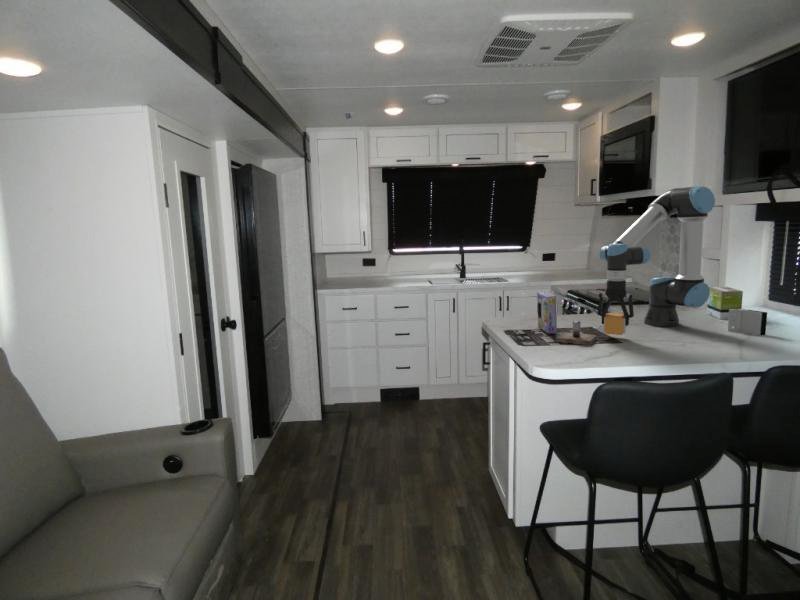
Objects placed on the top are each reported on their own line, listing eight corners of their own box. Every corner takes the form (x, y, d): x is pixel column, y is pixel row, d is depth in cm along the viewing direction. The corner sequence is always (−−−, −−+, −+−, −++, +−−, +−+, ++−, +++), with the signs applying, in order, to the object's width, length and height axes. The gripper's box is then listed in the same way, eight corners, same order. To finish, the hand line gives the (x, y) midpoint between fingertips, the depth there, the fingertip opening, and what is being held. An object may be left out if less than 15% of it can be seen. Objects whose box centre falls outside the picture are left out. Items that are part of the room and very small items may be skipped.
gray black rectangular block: (726, 331, 223) (728, 309, 222) (731, 329, 226) (733, 307, 225) (763, 336, 212) (765, 313, 211) (767, 334, 215) (769, 311, 214)
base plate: (596, 339, 213) (596, 335, 213) (589, 345, 204) (589, 341, 203) (563, 336, 221) (563, 332, 221) (555, 342, 211) (555, 337, 211)
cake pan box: (536, 325, 245) (536, 290, 242) (546, 325, 245) (546, 290, 242) (546, 334, 226) (546, 296, 223) (557, 334, 226) (558, 296, 223)
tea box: (705, 314, 262) (707, 286, 260) (726, 314, 261) (728, 286, 258) (719, 319, 247) (722, 290, 245) (741, 319, 246) (744, 290, 244)
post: (580, 336, 212) (581, 321, 211) (579, 337, 210) (579, 322, 209) (573, 335, 214) (574, 320, 213) (571, 336, 212) (572, 321, 211)
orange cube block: (624, 331, 216) (625, 313, 214) (621, 335, 210) (622, 316, 209) (607, 330, 220) (608, 312, 218) (604, 333, 214) (605, 315, 213)
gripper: (590, 280, 214) (588, 331, 217) (640, 281, 202) (638, 336, 206) (594, 278, 220) (592, 328, 223) (643, 279, 209) (641, 332, 212)
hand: (614, 331), depth 215 cm, fingers closed on orange cube block, 7 cm apart
